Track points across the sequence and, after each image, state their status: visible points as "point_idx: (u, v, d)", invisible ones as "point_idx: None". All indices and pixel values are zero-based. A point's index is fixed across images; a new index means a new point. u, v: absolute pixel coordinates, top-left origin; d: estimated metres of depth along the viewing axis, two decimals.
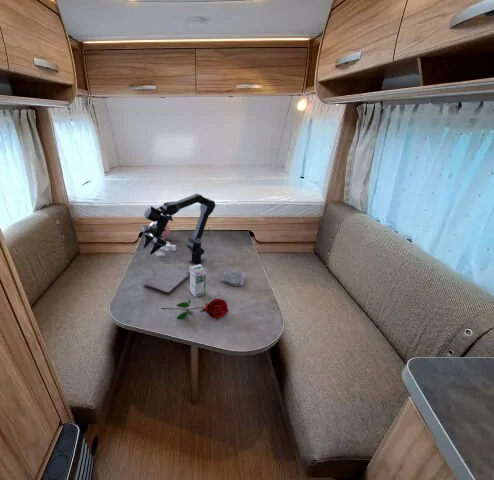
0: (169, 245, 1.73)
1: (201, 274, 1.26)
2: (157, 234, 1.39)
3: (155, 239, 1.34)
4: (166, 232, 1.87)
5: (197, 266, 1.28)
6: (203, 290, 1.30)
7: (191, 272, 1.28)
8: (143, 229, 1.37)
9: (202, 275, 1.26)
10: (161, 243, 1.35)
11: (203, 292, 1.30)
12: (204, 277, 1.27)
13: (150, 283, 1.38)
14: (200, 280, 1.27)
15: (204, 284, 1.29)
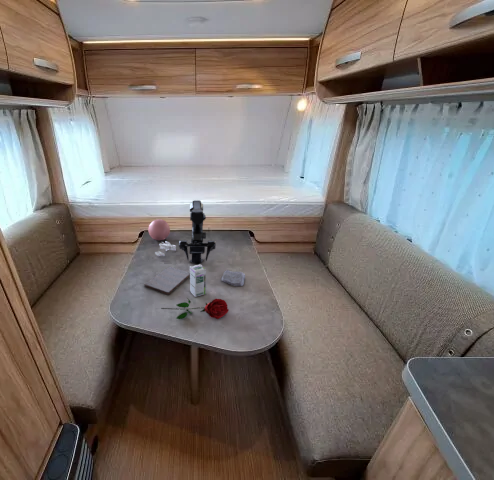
0: (169, 245, 1.73)
1: (201, 274, 1.26)
2: None
3: (211, 243, 1.35)
4: (166, 232, 1.87)
5: (197, 266, 1.28)
6: (203, 290, 1.30)
7: (191, 272, 1.28)
8: (198, 236, 1.31)
9: (202, 275, 1.26)
10: (215, 245, 1.38)
11: (203, 292, 1.30)
12: (204, 277, 1.27)
13: (150, 283, 1.38)
14: (200, 280, 1.27)
15: (204, 284, 1.29)
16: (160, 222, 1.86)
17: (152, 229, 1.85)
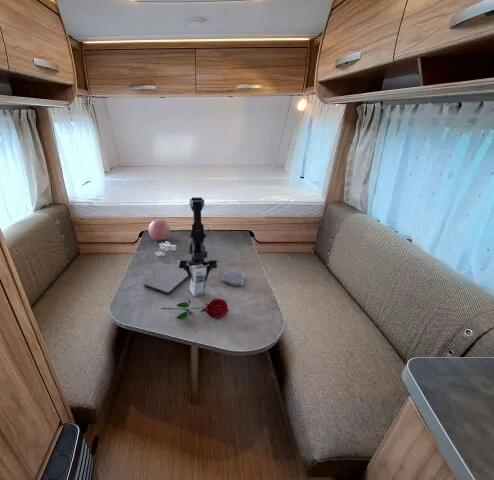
0: (169, 245, 1.73)
1: (201, 274, 1.26)
2: None
3: (213, 262, 1.28)
4: (166, 232, 1.87)
5: (198, 266, 1.28)
6: (202, 290, 1.30)
7: (192, 271, 1.28)
8: (199, 256, 1.24)
9: (202, 275, 1.26)
10: (216, 264, 1.31)
11: (202, 292, 1.30)
12: (204, 277, 1.27)
13: (150, 283, 1.38)
14: (200, 280, 1.27)
15: (204, 284, 1.29)
16: (160, 222, 1.86)
17: (152, 229, 1.85)
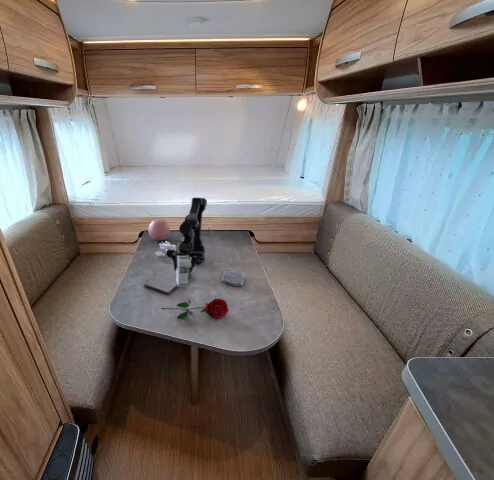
0: (169, 245, 1.73)
1: (185, 264, 1.25)
2: (191, 251, 1.30)
3: (199, 254, 1.26)
4: (166, 232, 1.87)
5: (184, 256, 1.27)
6: (187, 281, 1.29)
7: (177, 261, 1.28)
8: (183, 246, 1.23)
9: (186, 266, 1.25)
10: (204, 257, 1.28)
11: (187, 283, 1.29)
12: (189, 269, 1.26)
13: (150, 283, 1.38)
14: (184, 271, 1.26)
15: (188, 276, 1.27)
16: (160, 222, 1.86)
17: (152, 229, 1.85)
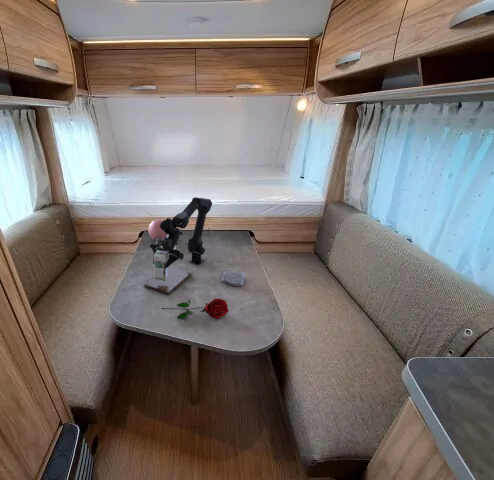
0: None
1: (160, 260, 1.29)
2: (171, 248, 1.33)
3: (175, 252, 1.28)
4: None
5: (162, 252, 1.31)
6: (162, 276, 1.33)
7: None
8: (160, 242, 1.28)
9: (161, 261, 1.29)
10: (181, 256, 1.30)
11: (162, 278, 1.33)
12: (163, 264, 1.30)
13: (150, 283, 1.38)
14: (159, 265, 1.30)
15: (163, 271, 1.31)
16: (160, 222, 1.86)
17: (152, 229, 1.85)
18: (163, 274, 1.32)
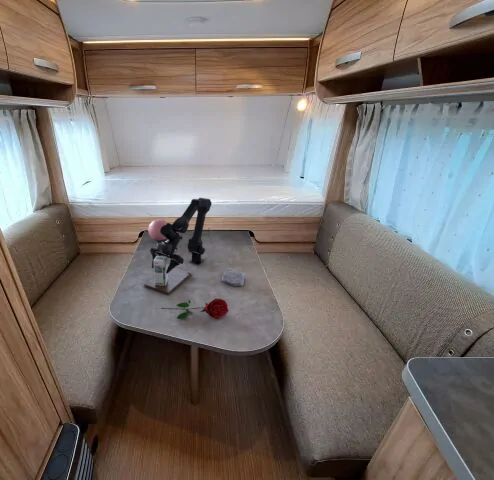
0: None
1: (159, 264, 1.31)
2: (171, 252, 1.34)
3: (175, 257, 1.29)
4: None
5: (161, 257, 1.33)
6: (162, 281, 1.34)
7: None
8: (160, 247, 1.29)
9: (160, 266, 1.31)
10: (180, 261, 1.30)
11: (163, 283, 1.35)
12: (163, 269, 1.31)
13: (150, 283, 1.38)
14: (158, 270, 1.32)
15: (163, 276, 1.33)
16: (160, 222, 1.86)
17: (152, 229, 1.85)
18: (163, 279, 1.34)
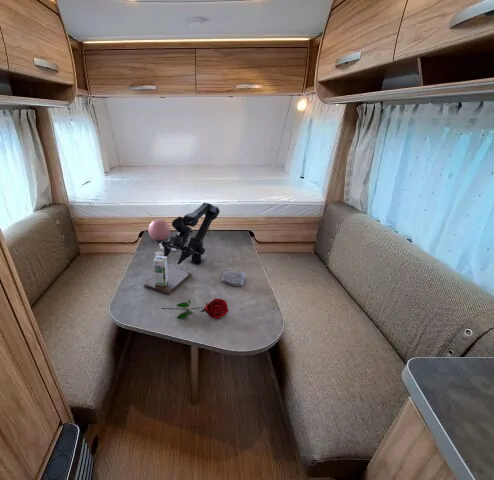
0: None
1: (159, 264, 1.31)
2: (182, 245, 1.41)
3: (186, 248, 1.36)
4: (166, 232, 1.87)
5: (161, 257, 1.33)
6: (162, 281, 1.34)
7: None
8: (172, 239, 1.36)
9: (160, 266, 1.31)
10: (191, 252, 1.37)
11: (163, 283, 1.35)
12: (163, 269, 1.31)
13: (150, 283, 1.38)
14: (159, 270, 1.32)
15: (163, 276, 1.33)
16: (160, 222, 1.86)
17: (152, 229, 1.85)
18: (163, 279, 1.34)
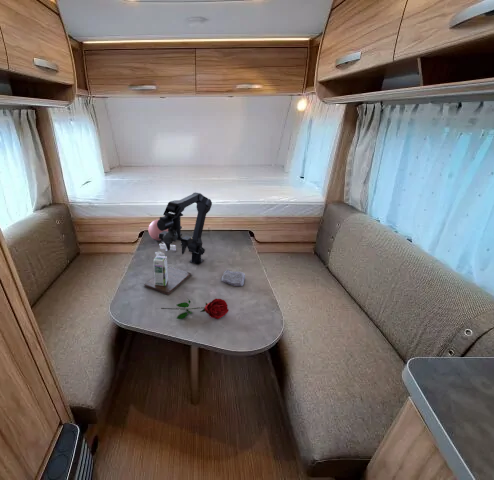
0: None
1: (159, 264, 1.31)
2: (178, 235, 1.39)
3: (184, 242, 1.36)
4: None
5: (161, 257, 1.33)
6: (162, 281, 1.34)
7: None
8: (167, 240, 1.35)
9: (161, 266, 1.31)
10: (190, 242, 1.38)
11: (163, 283, 1.35)
12: (163, 269, 1.31)
13: (150, 283, 1.38)
14: (159, 270, 1.32)
15: (163, 276, 1.33)
16: None
17: (152, 229, 1.85)
18: (163, 279, 1.34)
